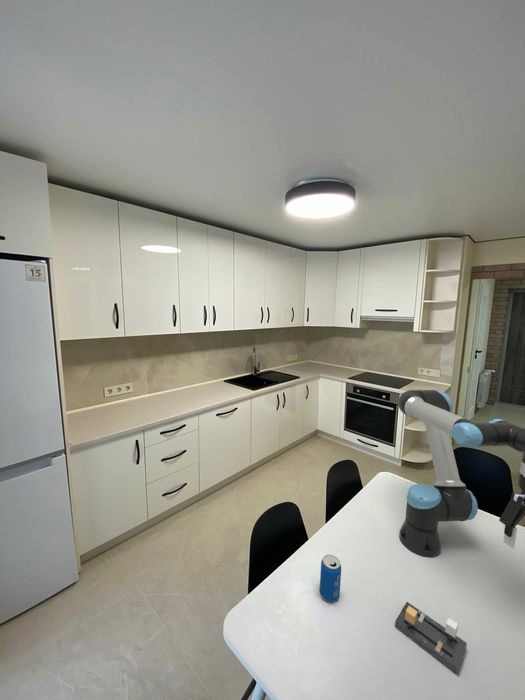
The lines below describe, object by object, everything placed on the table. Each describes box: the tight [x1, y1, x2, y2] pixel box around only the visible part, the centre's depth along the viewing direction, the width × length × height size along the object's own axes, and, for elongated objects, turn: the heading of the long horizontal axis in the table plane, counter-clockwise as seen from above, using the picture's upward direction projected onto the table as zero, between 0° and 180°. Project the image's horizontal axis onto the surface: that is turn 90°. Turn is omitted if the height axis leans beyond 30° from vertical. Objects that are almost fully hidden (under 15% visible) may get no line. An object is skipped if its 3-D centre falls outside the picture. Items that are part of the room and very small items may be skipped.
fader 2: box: [444, 616, 459, 640], centre depth 82 cm, size 2×2×4 cm
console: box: [394, 601, 468, 676], centre depth 83 cm, size 16×9×2 cm, turn 43°
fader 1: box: [405, 606, 417, 627], centre depth 85 cm, size 2×2×4 cm
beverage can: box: [319, 553, 342, 603], centre depth 95 cm, size 6×6×12 cm
